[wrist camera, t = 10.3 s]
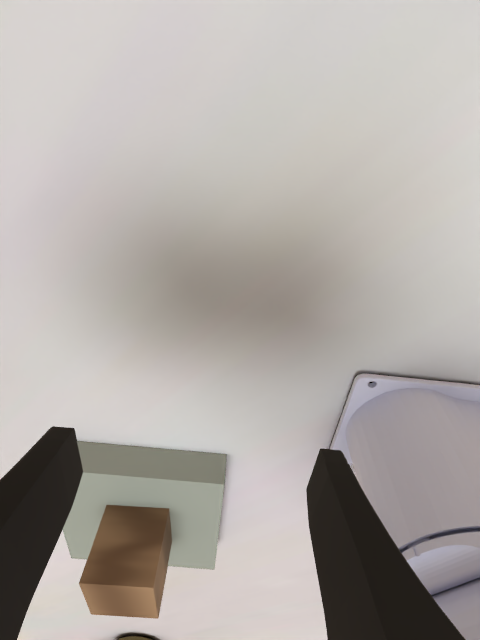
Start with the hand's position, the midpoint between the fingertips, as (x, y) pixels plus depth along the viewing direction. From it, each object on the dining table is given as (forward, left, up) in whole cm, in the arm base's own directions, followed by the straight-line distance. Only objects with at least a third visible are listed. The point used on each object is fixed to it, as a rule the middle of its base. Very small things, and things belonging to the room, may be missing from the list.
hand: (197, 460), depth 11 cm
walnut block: (+5, +19, -8) cm, 21 cm away
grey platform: (+5, +19, -11) cm, 23 cm away
